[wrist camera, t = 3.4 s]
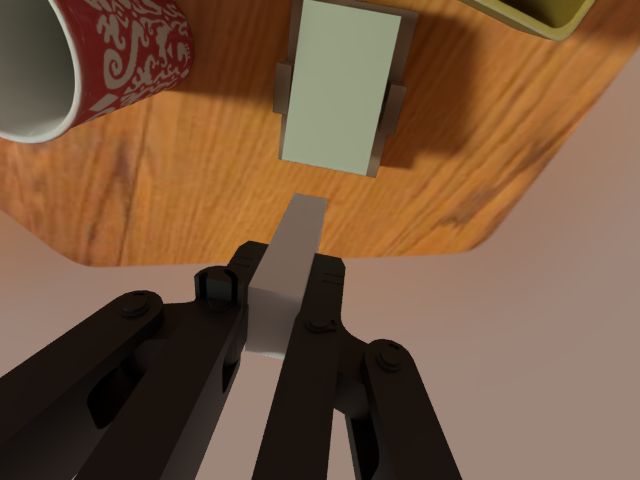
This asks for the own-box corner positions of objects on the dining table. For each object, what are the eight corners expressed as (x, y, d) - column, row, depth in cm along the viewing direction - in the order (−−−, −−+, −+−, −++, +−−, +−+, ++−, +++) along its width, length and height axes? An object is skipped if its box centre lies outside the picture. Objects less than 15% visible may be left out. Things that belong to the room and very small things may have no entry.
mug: (228, 32, 25) (108, 26, 13) (175, 123, 29) (50, 179, 17) (69, -119, 21) (-277, -301, 10) (36, 10, 25) (-233, -13, 14)
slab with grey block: (298, -6, 23) (281, -17, 18) (416, 15, 23) (428, 9, 18) (283, 148, 29) (268, 167, 24) (377, 166, 28) (379, 189, 24)
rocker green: (307, 11, 20) (303, -1, 18) (396, 27, 20) (401, 16, 18) (286, 157, 23) (281, 159, 21) (364, 172, 23) (365, 175, 21)
